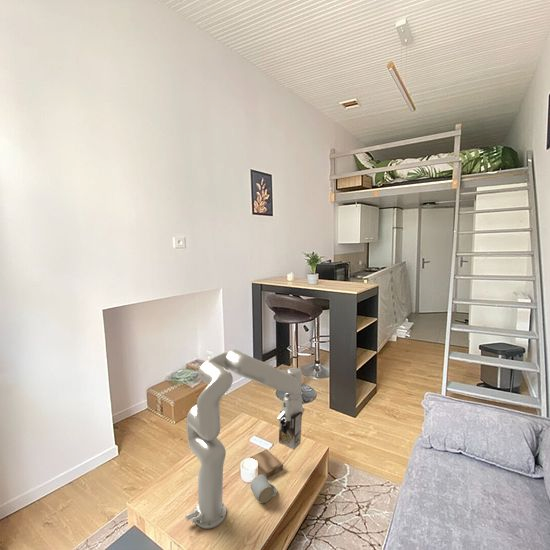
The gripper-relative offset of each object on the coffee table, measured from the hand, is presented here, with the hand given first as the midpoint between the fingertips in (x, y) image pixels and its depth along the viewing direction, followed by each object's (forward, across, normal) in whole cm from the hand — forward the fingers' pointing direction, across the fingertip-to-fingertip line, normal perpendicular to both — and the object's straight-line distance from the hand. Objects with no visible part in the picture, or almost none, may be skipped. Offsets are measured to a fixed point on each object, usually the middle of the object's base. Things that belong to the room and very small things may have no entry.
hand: (290, 429), depth 149 cm
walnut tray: (+19, -9, +6) cm, 22 cm away
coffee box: (+7, 0, 0) cm, 7 cm away
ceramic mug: (+20, -20, -7) cm, 29 cm away
